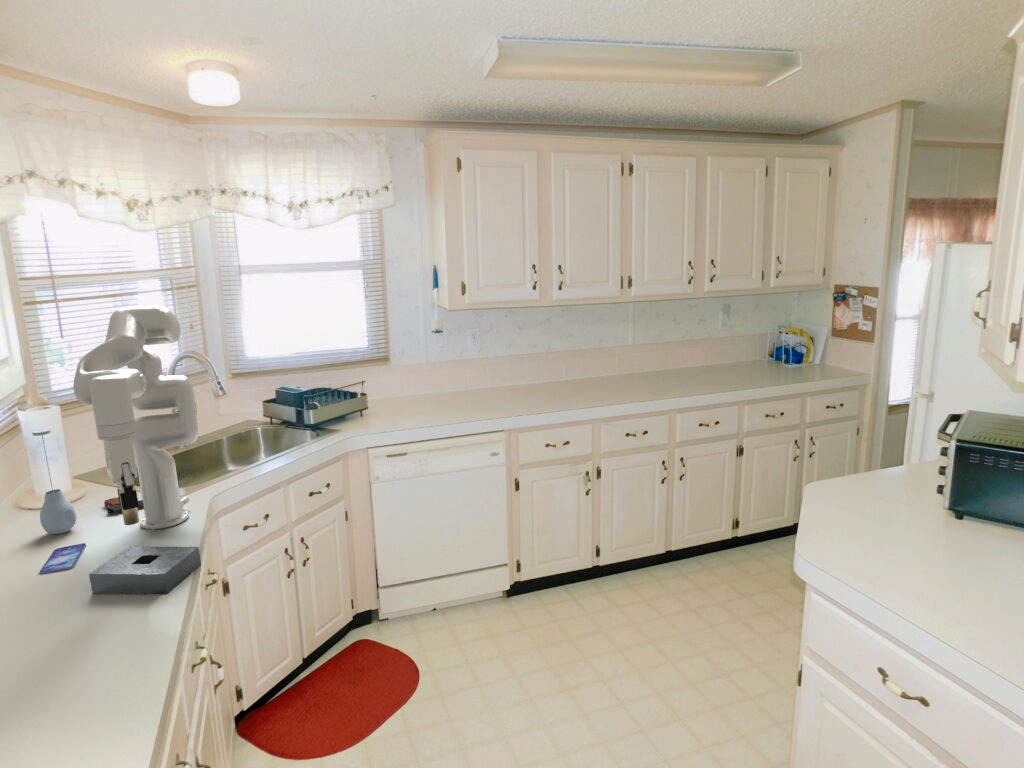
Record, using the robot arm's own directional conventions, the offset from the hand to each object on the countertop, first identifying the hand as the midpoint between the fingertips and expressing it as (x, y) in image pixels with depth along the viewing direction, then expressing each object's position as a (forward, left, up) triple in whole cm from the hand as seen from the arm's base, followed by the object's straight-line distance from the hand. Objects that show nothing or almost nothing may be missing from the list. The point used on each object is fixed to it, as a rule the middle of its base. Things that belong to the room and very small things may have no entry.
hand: (129, 505), depth 148 cm
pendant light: (-27, -43, -19) cm, 54 cm away
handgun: (-47, -35, -20) cm, 62 cm away
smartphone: (-11, -29, -20) cm, 36 cm away
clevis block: (-1, +1, -19) cm, 19 cm away
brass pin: (0, 0, -4) cm, 4 cm away
